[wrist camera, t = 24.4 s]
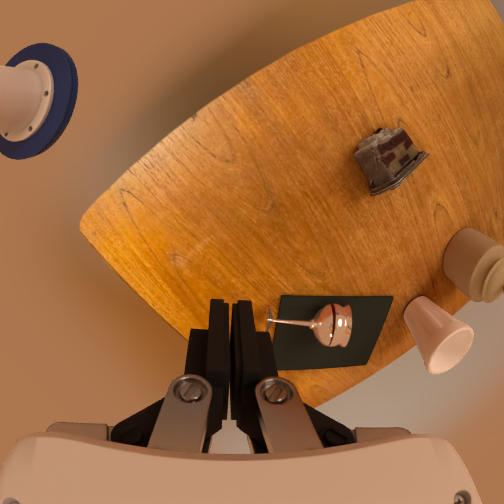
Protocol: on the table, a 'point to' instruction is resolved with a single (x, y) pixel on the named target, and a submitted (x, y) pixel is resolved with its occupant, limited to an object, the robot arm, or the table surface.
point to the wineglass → (325, 324)
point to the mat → (308, 347)
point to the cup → (437, 334)
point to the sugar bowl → (475, 265)
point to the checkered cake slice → (388, 159)
